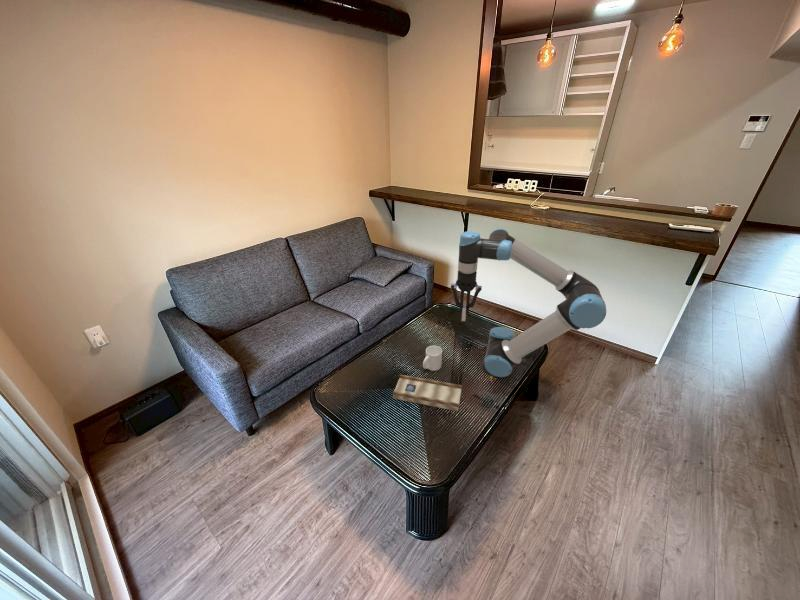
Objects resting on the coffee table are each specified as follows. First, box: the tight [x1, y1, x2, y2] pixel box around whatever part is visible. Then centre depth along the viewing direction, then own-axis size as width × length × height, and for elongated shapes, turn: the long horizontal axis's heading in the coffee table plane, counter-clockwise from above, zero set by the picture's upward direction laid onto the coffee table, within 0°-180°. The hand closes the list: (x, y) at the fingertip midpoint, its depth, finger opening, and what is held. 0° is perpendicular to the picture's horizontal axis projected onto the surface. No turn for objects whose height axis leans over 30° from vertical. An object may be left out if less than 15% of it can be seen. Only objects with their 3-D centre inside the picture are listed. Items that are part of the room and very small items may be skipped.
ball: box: [406, 386, 415, 392], centre depth 143 cm, size 4×4×4 cm
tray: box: [392, 374, 463, 412], centre depth 141 cm, size 30×12×4 cm, turn 74°
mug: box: [422, 345, 443, 372], centre depth 156 cm, size 12×8×10 cm
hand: (463, 319), depth 134 cm, fingers closed
